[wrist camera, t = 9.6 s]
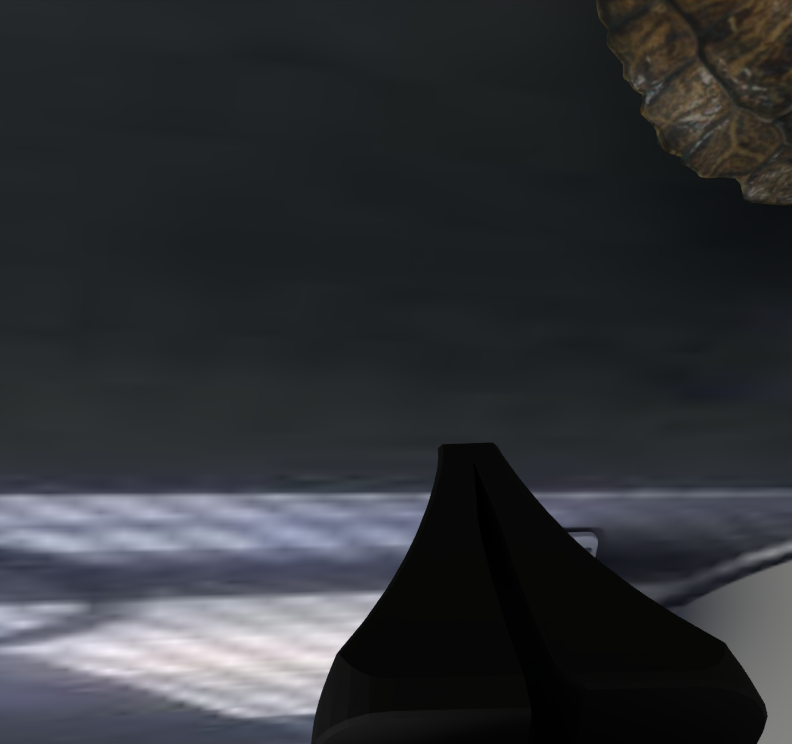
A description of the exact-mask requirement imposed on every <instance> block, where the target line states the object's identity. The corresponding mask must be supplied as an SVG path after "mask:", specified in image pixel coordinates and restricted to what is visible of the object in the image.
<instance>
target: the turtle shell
mask: <svg viewBox="0 0 792 744" xmlns="http://www.w3.org/2000/svg"><path fill="white" fill-rule="evenodd" d="M596 3H597V11H598V15H599V19H600V20H601V22H602V23H603V24H604V25H605V27H606V28H607V29H608V31H607V46H608V47H609V48H610V49H611V50H612V52H613V53H614V54H615V55H616V56H617V58H618V59H619V60H620V61H621V62H622V63H623V78H624V79H625V80H627V81H628V82H629V84H630V85H631V87H632V88H633V89H634V91H636V92H638V93H640V94H642V100H641V109H640V114H641V115H643V116H644V117H645V118H646V119H647V120H648V121H649V122H650V123H651V124H652V126H653V127H654V128H655V130H656V131H657V143H658V145H659V146H660V147H661V148H662V149H663V150H664V151H665V152H667V153H670V154H674V155H677V156H680V161H681V165H684V166H687V167H690V168H691V169H693V170H694V171H695V172H697V174H698V175H699V177H704V178H715V177H724V178H736V180H737V181H738V182H739V183H740V185H741V189H742V194H743V198H744V199H745V200H747V201H748V202H750V203H763V204H773V205H792V0H596Z"/></svg>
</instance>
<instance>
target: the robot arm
mask: <svg viewBox="0 0 792 744" xmlns="http://www.w3.org/2000/svg"><path fill="white" fill-rule="evenodd" d="M587 547H588V548H587ZM597 547H598V539H597V537H596V535H595V534H594V533H592V532H567V531H566V530H565V529H564V528H563V527H562V526H561V525H560V524H559V523H558V522H557V521H556V520H555V519H554V518H553V517H552V516H551V515H550V514H549V513H548V512H547V511H546V509H545V508H544V507H543V506H542V505H541V504H540V503H539V501H538V500H537V499H536V498H535V497H534V495H533V494H532V493H531V492H530V491H529V490H528V488H527V487H526V486H525V485H524V483H523V482H522V481H521V480H520V478H519V477H518V476H517V474H516V473H515V472H514V470H513V469H512V468H511V466H510V465H509V463H508V462H507V461H506V459H505V458H504V456H503V455H502V453H501V452H500V450H499V449H498V447H497V446H496V445H495V444H494V443H468V444H443V445H441V446H440V447H439V448H438V467H437V473H436V477H435V482H434V485H433V489H432V492H431V496H430V499H429V503H428V505H427V508H426V511H425V513H424V516H423V519H422V521H421V524H420V526H419V529H418V531H417V533H416V536H415V538H414V540H413V542H412V544H411V546H410V548H409V550H408V552H407V554H406V556H405V558H404V560H403V562H402V564H401V565H400V567H399V569H398V571H397V572H396V574H395V576H394V578H393V579H392V581H391V583H390V584H389V586H388V587H387V589H386V590H385V592H384V593H383V595H382V596H381V598H380V599H379V600H378V602H377V603H376V605H375V606H374V608H373V609H372V610H371V612H370V613H369V615H368V616H367V618H366V619H365V620H364V621H363V623H362V624H361V625H360V627H359V628H358V629H357V630H356V631H355V632H354V634H353V635H352V636H351V637H350V638H349V640H348V641H347V642H346V643H345V644H344V646H343V647H342V648H341V649H340V650H339V652H338V653H337V654H336V657H335V659H334V662H333V664H332V667H331V669H330V671H329V674H328V676H327V679H326V682H325V685H324V687H323V690H322V693H321V696H320V700H319V703H318V707H317V711H316V715H315V719H314V725H313V733H312V742H311V744H757V742H758V740H759V738H760V737H761V735H762V733H763V730H764V727H765V723H766V720H767V711H766V707H765V703H764V702H763V700H762V698H761V697H760V695H759V693H758V692H757V690H756V688H755V687H754V685H753V683H752V681H751V680H750V678H749V677H748V675H747V674H746V672H745V670H744V669H743V667H742V666H741V665H740V663H739V662H738V661H737V659H736V658H735V657H734V655H733V654H732V652H731V651H730V650H729V648H728V647H727V645H726V644H725V643H724V642H722V641H721V640H719V639H717V638H715V637H714V636H712V635H710V634H708V633H706V632H705V631H703V630H701V629H700V628H698V627H696V626H694V625H692V624H691V623H689V622H687V621H686V620H684V619H682V618H680V617H678V616H677V615H675V614H674V613H672V612H670V611H669V610H667V609H666V608H664V607H663V606H661V605H659V604H658V603H656V602H655V601H653V600H652V599H650V598H649V597H647V596H646V595H644V594H643V593H641V592H640V591H638V590H637V589H636V588H634V587H633V586H631V585H630V584H629V583H627V582H626V581H625V580H623V579H622V578H621V577H619V576H618V575H617V574H615V573H614V572H613V571H611V570H610V569H609V568H607V567H606V566H605V565H603V564H602V563H601V562H600V561H599V560H597V559H596V558H595V557H596V552H597ZM585 548H586V549H585Z"/></svg>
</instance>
